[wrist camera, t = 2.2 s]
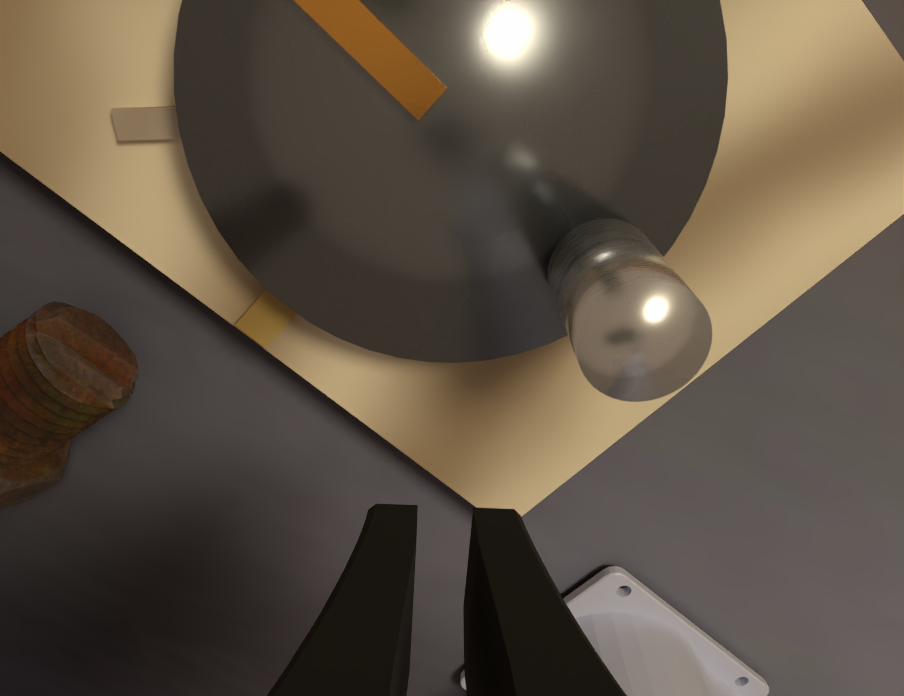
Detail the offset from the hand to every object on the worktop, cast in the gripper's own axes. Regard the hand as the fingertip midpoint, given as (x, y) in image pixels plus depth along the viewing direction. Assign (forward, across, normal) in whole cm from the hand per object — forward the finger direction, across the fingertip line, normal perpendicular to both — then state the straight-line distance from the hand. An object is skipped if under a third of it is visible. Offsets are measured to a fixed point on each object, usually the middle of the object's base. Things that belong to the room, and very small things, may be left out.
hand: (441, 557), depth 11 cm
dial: (+9, 0, -5) cm, 10 cm away
